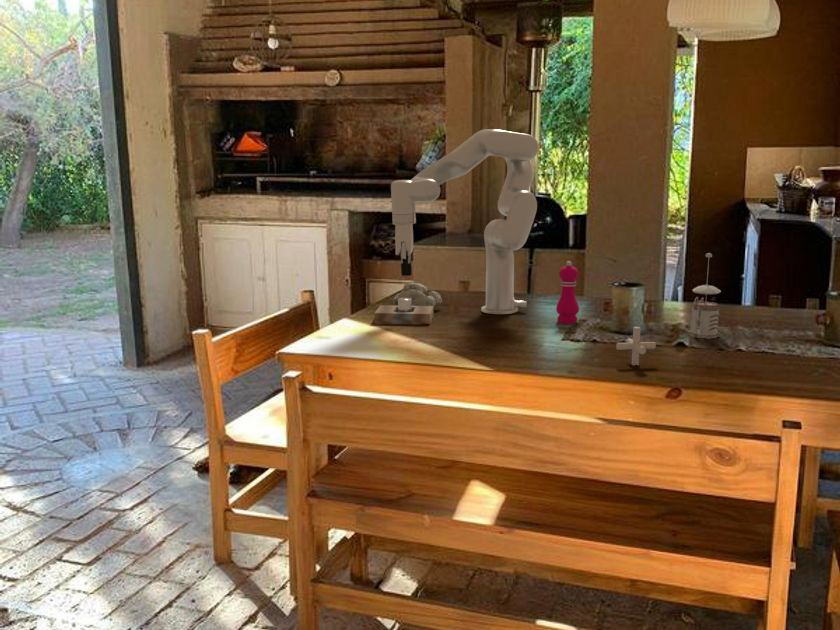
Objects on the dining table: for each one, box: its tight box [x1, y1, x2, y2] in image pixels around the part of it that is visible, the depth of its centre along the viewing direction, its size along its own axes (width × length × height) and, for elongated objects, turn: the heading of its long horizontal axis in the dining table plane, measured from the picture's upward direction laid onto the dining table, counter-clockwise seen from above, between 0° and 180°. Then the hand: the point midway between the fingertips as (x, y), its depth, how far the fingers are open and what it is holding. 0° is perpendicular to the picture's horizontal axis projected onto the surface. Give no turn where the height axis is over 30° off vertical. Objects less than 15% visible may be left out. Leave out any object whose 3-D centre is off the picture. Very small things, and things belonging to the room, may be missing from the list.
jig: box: [374, 304, 435, 325], centre depth 273 cm, size 18×13×4 cm
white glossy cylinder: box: [398, 298, 412, 312], centre depth 273 cm, size 4×4×7 cm
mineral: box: [392, 282, 443, 307], centre depth 291 cm, size 12×17×10 cm
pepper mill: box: [555, 260, 580, 325], centre depth 267 cm, size 7×7×20 cm
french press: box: [689, 252, 722, 335], centre depth 247 cm, size 10×12×25 cm
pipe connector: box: [615, 326, 657, 366], centre depth 217 cm, size 10×10×10 cm
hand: (406, 275), depth 271 cm, fingers closed
